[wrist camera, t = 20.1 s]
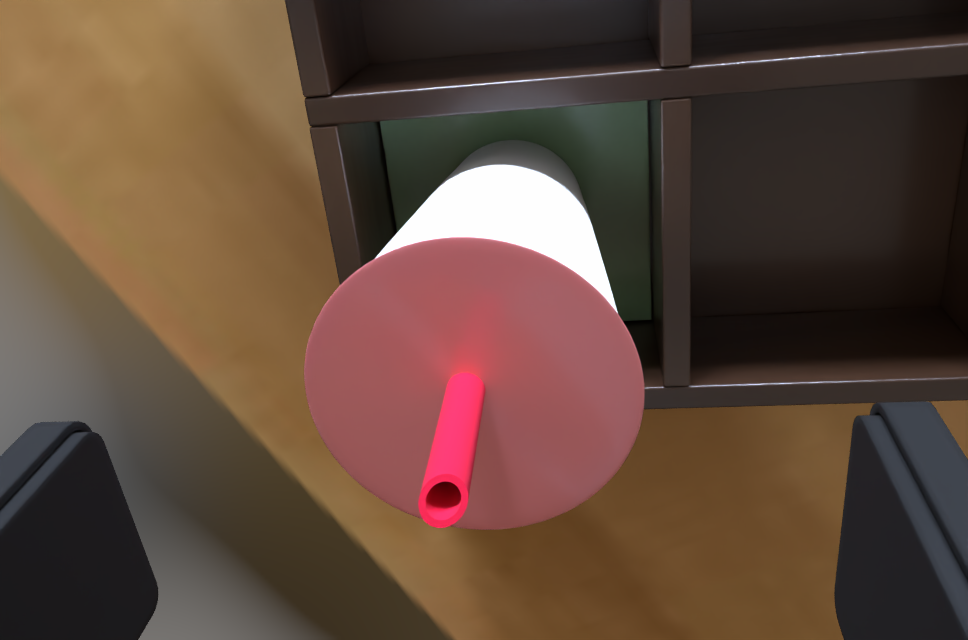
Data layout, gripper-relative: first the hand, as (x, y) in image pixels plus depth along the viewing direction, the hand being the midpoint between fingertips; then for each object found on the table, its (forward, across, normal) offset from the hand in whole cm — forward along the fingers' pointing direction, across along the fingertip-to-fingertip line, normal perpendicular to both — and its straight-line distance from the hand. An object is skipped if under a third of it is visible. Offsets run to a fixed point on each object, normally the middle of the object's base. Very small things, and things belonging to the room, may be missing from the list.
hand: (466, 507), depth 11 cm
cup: (+12, 0, 0) cm, 12 cm away
